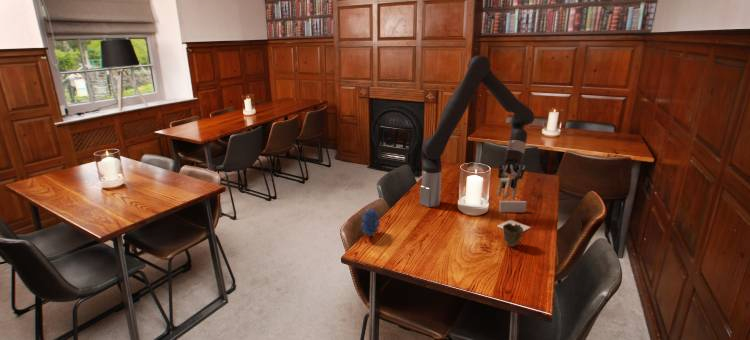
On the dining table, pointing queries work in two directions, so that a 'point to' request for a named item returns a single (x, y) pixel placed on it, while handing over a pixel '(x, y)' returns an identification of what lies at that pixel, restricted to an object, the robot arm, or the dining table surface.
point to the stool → (508, 183)
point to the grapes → (370, 222)
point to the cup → (512, 234)
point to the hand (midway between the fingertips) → (507, 187)
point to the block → (512, 206)
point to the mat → (514, 225)
